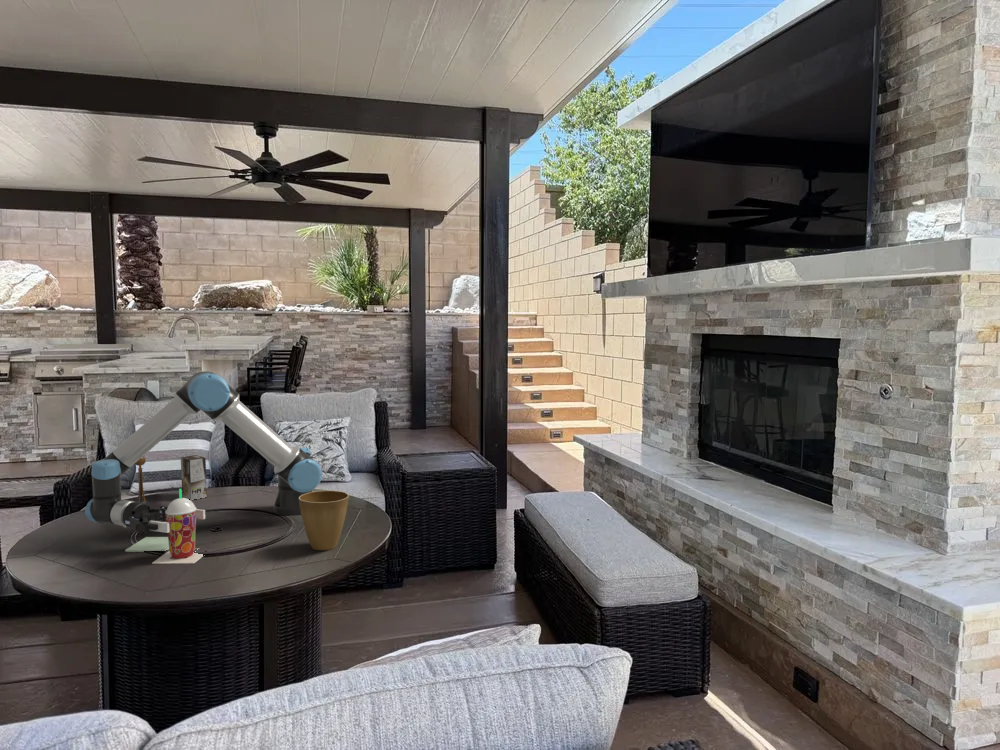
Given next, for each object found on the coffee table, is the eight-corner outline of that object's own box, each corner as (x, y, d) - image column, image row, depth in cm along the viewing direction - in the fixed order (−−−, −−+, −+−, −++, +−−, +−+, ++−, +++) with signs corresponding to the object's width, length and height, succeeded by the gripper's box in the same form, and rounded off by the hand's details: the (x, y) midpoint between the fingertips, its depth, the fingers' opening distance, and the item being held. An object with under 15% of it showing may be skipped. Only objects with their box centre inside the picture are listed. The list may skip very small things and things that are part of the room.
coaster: (183, 538, 210) (183, 536, 210) (165, 551, 198) (165, 549, 198) (145, 538, 210) (145, 537, 210) (125, 551, 198) (125, 549, 198)
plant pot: (331, 557, 194) (330, 504, 193) (289, 551, 199) (288, 499, 198) (358, 541, 208) (358, 492, 206) (319, 536, 213) (318, 488, 212)
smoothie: (173, 550, 198) (171, 485, 197) (202, 550, 199) (200, 485, 197) (161, 560, 190) (159, 492, 188) (191, 560, 191) (189, 492, 189)
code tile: (211, 549, 201) (211, 548, 201) (194, 563, 189) (194, 562, 189) (171, 549, 200) (171, 548, 200) (151, 563, 188) (151, 562, 188)
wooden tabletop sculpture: (133, 511, 241) (130, 457, 239) (129, 508, 244) (127, 455, 243) (150, 508, 245) (148, 455, 243) (147, 505, 248) (145, 453, 247)
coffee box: (207, 497, 260) (206, 457, 259) (190, 500, 255) (189, 460, 254) (197, 493, 266) (196, 454, 265) (181, 496, 262) (180, 456, 260)
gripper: (165, 515, 212) (218, 521, 205) (95, 538, 188) (152, 547, 181) (164, 492, 211) (217, 497, 204) (93, 513, 188) (151, 520, 181)
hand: (187, 521), depth 193 cm, fingers open, 13 cm apart
